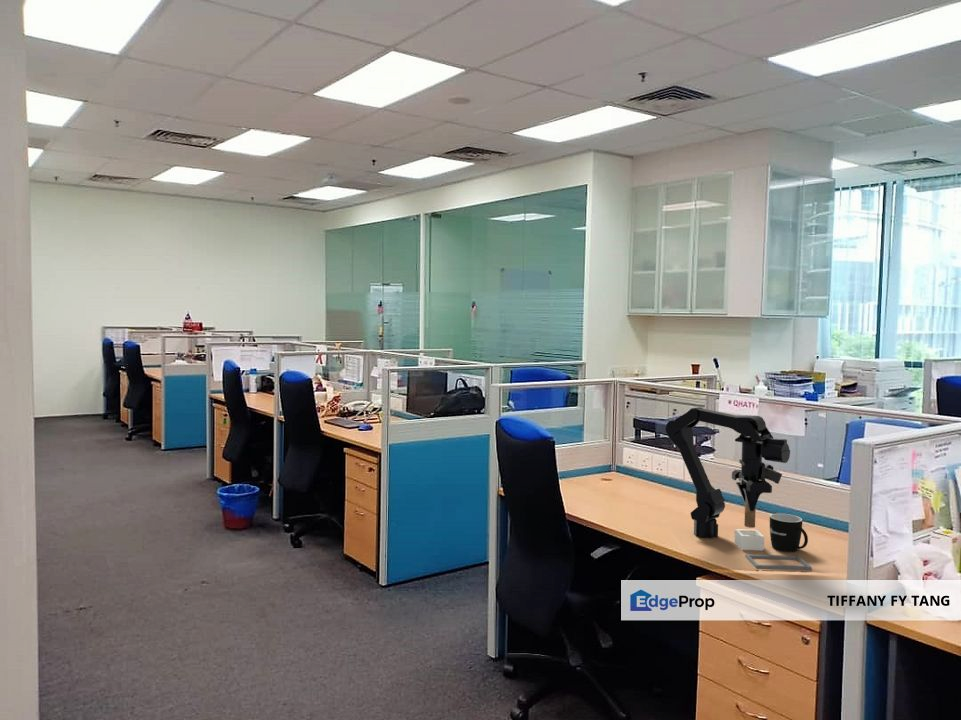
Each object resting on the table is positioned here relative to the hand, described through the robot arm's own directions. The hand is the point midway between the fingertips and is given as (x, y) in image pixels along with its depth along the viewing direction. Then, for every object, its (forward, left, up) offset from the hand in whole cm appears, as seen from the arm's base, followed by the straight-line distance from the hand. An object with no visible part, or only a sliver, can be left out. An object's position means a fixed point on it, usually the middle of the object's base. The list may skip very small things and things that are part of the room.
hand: (750, 509), depth 209 cm
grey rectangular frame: (+3, -14, -12) cm, 19 cm away
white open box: (0, 0, -12) cm, 12 cm away
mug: (+11, -2, -12) cm, 17 cm away
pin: (0, 0, -5) cm, 5 cm away
